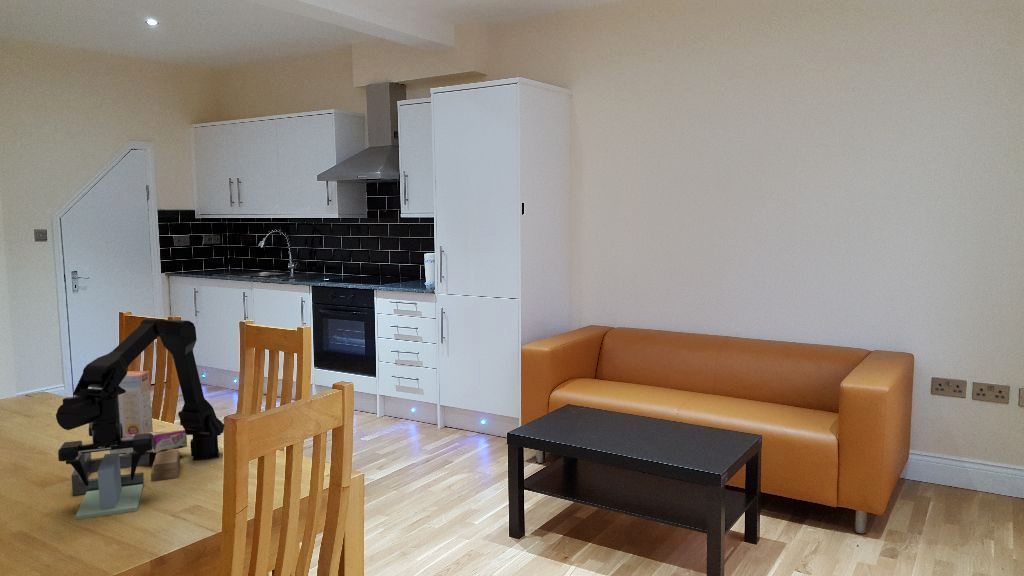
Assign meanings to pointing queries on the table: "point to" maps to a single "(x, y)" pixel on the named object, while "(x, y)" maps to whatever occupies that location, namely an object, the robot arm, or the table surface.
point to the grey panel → (109, 481)
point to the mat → (125, 504)
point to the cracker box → (135, 403)
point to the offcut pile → (165, 465)
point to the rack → (94, 465)
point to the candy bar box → (159, 441)
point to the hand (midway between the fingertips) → (110, 482)
